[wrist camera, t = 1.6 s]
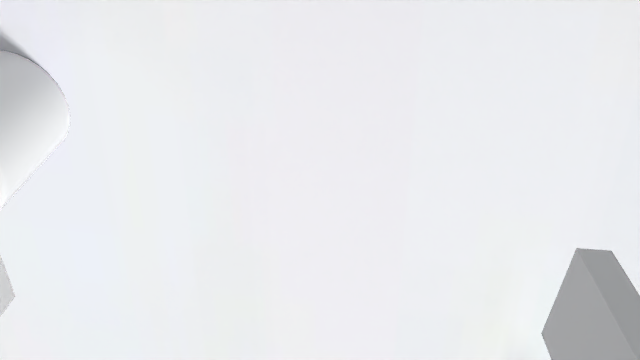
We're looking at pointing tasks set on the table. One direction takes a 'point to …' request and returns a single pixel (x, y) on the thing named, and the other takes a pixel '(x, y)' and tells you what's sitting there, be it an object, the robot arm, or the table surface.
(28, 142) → the pill bottle
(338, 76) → the table surface
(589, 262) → the robot arm
